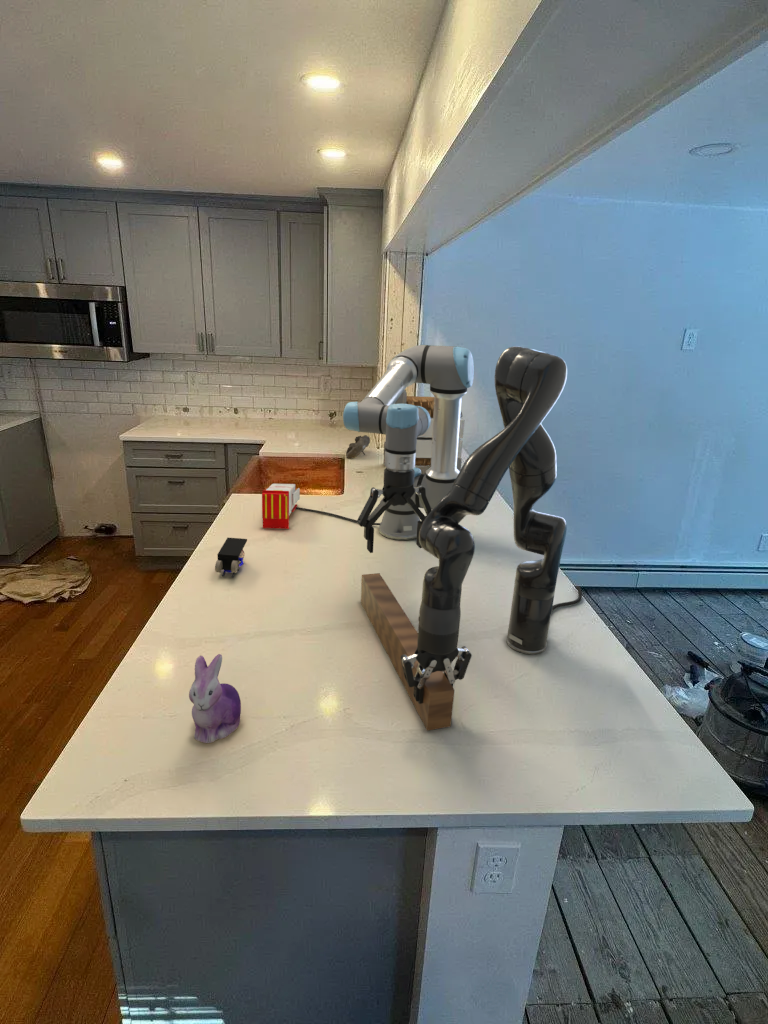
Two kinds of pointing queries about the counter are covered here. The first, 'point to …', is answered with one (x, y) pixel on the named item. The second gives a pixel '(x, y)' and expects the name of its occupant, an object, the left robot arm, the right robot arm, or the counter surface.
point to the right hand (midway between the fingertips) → (432, 698)
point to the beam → (405, 650)
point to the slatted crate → (426, 439)
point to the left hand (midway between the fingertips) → (395, 548)
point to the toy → (279, 505)
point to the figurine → (213, 702)
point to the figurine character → (230, 556)
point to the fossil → (357, 446)
